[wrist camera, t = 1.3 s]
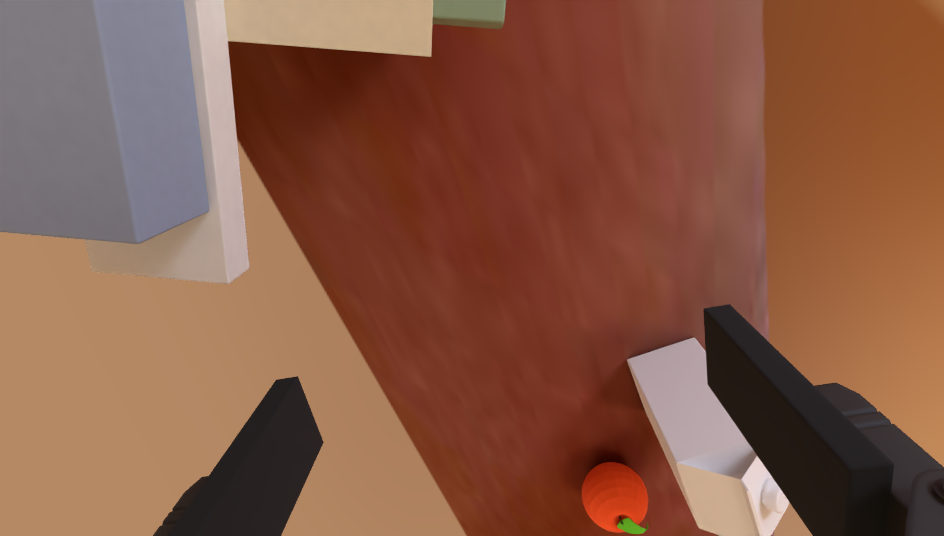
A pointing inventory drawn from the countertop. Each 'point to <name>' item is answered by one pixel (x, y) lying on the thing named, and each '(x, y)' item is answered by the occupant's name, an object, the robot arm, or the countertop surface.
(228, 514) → the robot arm
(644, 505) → the clementine
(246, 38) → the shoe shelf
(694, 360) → the milk carton
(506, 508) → the countertop surface
